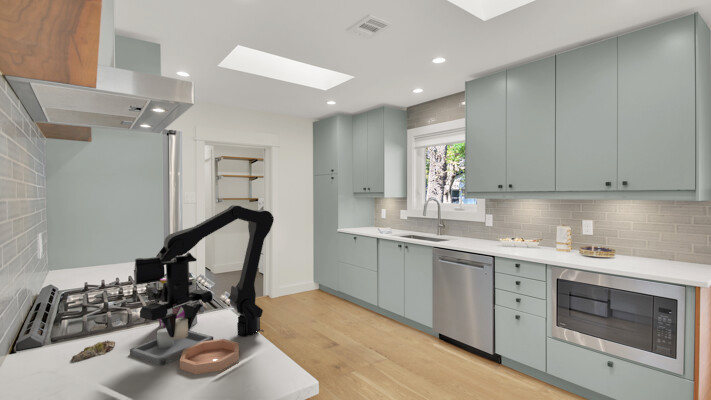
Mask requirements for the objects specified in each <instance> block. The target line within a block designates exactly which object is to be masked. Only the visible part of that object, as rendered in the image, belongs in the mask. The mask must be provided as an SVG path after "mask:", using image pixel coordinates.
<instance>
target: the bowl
mask: <svg viewBox="0 0 711 400" xmlns="http://www.w3.org/2000/svg"><path fill="white" fill-rule="evenodd" d="M179 358H180V359H179V369H180V370H182V371H185V372H188V373H190V374H194V375H198V374H199V375H200V374H204V373H205V374H206V373H212V372H219V373H218V374H222V373H224V372H225V371H227V370H229V369H231V368H232V367H235V366H236V365H238V364H239V362H240V361H239V360H240V359H239V358H240V343H239V342H238V341H233V340H231V339H230V340H229V339H226V338H219V339H213V340H211V341H203V342H200V343H198V344H196V345H194V346H191V347H189V348H187V349H185V350H183V353H182V355H181V357H179ZM234 363H235V364H234ZM227 367H228V368H227Z"/></svg>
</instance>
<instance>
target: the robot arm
mask: <svg viewBox="0 0 711 400" xmlns="http://www.w3.org/2000/svg"><path fill="white" fill-rule="evenodd" d="M237 220H240V221H244V222H248V224H247V225H248V226H247V228H248V235H249V238H248V242H247V247H246V251H245V255H244V260H243V265H242V268H241V273H240V277H239V281H238V283H236V286H234V285H231V287H230V294H229V296H228V297H227V298H228V299H229V304H230V306H231V308H233V309H234V310H235V311H236V314H239V316H238V317H237V321H238V322H237V326H236V327H237V337H242V338H245V337H248V336H253V335H257V334H258V333H259V332H262V333H264V332H265V331H264V329H261V317H262V316H263V315H262V314H263V312H264V310H263V309H262V308H261V307H260V306H259V305H257V304H256V300H257V299H256V295H257V293H256V287H255V284H256V283H255V282H256V278H257V274H258V269H259V264H260V260H261V254H262V250H263V247H264V246H263V245H264V243H265V239H266V237H267V236H268V234H269V233H270V232H271V229H272V227H273V224H274V222H275V221H274V215H273V213H271V211H268V210H264V209H263V210H262V209H255V210H254V209H251V208H247V207H243V206H241V205H235V204H232V205H230V206H229V207H228V208H226V209H224V210H223V211H220V212H219V213H216V214H215V215H213V216H212V217H209V218H207V219H206V220H204V221H201V222H199V223H198V224H196V225H194V226H191V227H189V228H185V229H181V230H178V231H175V232H173V233H170V234H168V235H167V236H166V237H165V239H164V241H163V247H162V248H160V250H159V252H158V253H157V254H156V256H154V257H153V256H152V257H145V258H143V257H138V258H135V259H134V269H133V278H134V284H135V286H139V285H146V284H153V283H158V282H160V279H163V278H165V277H166V283H164V284H163V289H160V290H158V287H152V288H149V289H147V295H146V296H147V300H148V301H149V302H150V301H154V303H150V304H147V305H143V306H142V307H141V308H140V310H139V319H140V318H141V319H144V320H149V321H152V322H153V321H159V319H161V320H162V322H163V323H164V325H165V327H164V328H166V329H167V331H168V334H169V336H170V337H174V333H175V323H176V314H173V311H172V309H174V308H177V307H180V306H182V308H183V310H184V318H187V319H188V331H189V330H190V329H191V328H192V326H191V325H192V323H193V321H194V319H195V316H196V315H197V316H198V313H199V310H200V309H201V308H203V306H204V304H206V303H209V302H210V303H211V302H212V301H213V293H212V291H210V290H206V289H196V291H193V292H190V285H193V284H192V281H189V278H190V266H189V265H190V263H192V262H197V258H196V257H194V256H193V255H192V253H190V252H189V251H191V250H192V249H193V248H195V247H196V245H198V244H199V242H200V241H202V240H203V239H204V238H206V237H208V236H209V235H212V234H213V233H215V232H217V231H218V230H220V229H222V228H224V227H226V226H227V225H229V224H231V223H233V222H234V221H237ZM159 301H162V302H167V304H163V305H162V304H159ZM200 301H201V302H202V303H203V304H201V303H200ZM175 304H176V305H175ZM256 331H257V332H258V333H257V332H256Z"/></svg>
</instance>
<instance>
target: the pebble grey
mask: <svg viewBox="0 0 711 400" xmlns="http://www.w3.org/2000/svg"><path fill="white" fill-rule="evenodd" d="M156 339H157V347H158V348H159V349H165V348H169V347H172V346H173V345H174V344H175V340H174V339H171V337H170V336H169V334H168V331H167V329H166V327H163V328H161V329H158V330H157V331H156Z"/></svg>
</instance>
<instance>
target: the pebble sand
mask: <svg viewBox="0 0 711 400" xmlns="http://www.w3.org/2000/svg"><path fill="white" fill-rule="evenodd" d="M187 336H188V319H187V318H178V319H176V323H175V333H174V337H171V339H174V340H177V339H182V338H185V337H187Z"/></svg>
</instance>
